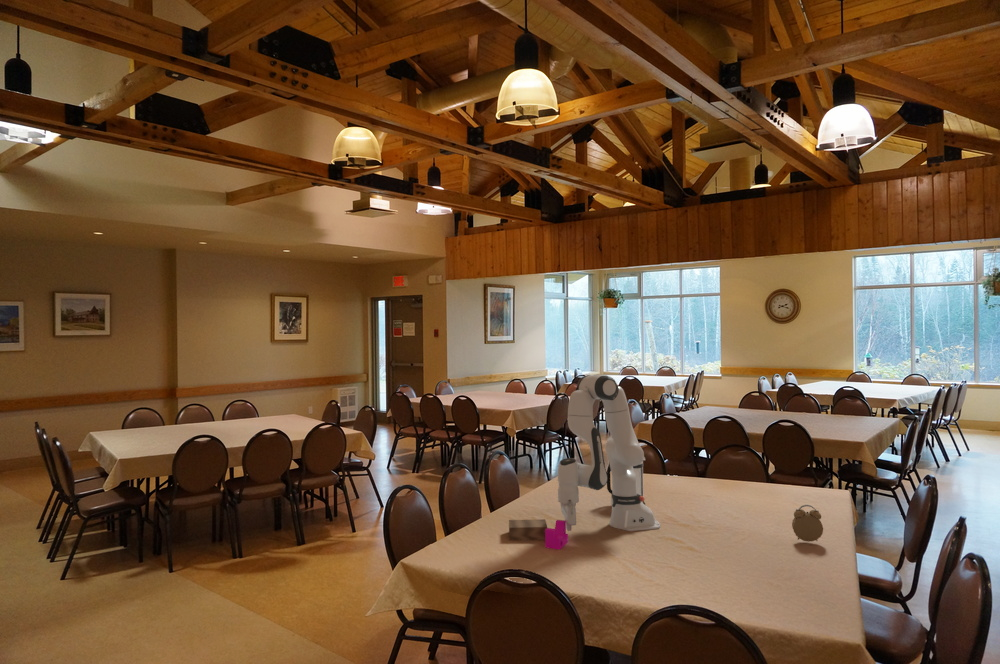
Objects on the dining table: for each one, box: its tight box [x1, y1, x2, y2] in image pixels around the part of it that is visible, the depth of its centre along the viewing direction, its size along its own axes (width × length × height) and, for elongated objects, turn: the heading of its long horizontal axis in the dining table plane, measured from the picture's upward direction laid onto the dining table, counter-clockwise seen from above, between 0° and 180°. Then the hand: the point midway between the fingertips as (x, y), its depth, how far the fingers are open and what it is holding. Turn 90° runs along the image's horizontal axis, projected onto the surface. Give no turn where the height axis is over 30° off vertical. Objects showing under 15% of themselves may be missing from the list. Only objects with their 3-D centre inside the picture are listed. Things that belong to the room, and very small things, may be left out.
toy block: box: [544, 519, 569, 551], centre depth 257 cm, size 15×6×8 cm, turn 155°
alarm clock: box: [791, 504, 824, 543], centre depth 255 cm, size 11×5×15 cm, turn 73°
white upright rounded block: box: [606, 457, 647, 505], centre depth 315 cm, size 17×16×30 cm
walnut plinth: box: [508, 519, 548, 541], centre depth 266 cm, size 16×11×6 cm
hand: (568, 529), depth 265 cm, fingers closed
